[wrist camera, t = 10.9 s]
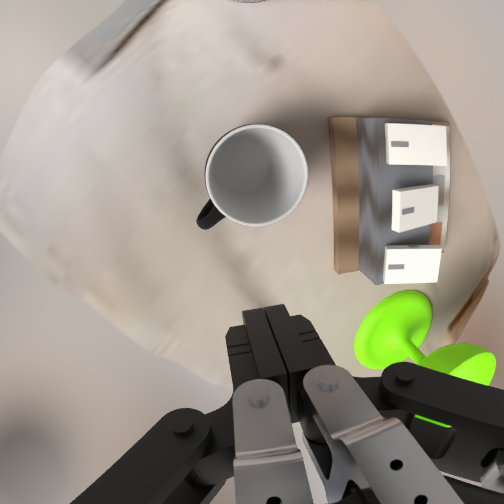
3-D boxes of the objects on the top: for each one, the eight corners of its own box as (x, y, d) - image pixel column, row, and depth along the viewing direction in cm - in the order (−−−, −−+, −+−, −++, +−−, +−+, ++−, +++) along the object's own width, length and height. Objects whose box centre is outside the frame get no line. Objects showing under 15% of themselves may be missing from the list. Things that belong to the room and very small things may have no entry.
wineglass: (422, 271, 45) (498, 329, 29) (436, 334, 51) (492, 391, 35) (341, 326, 46) (397, 409, 29) (367, 381, 52) (412, 452, 35)
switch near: (383, 123, 30) (387, 123, 28) (440, 126, 28) (446, 126, 27) (385, 162, 31) (389, 164, 30) (441, 164, 30) (447, 166, 29)
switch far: (384, 244, 35) (386, 249, 34) (437, 244, 33) (441, 248, 32) (382, 278, 37) (384, 284, 35) (433, 276, 35) (437, 282, 34)
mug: (241, 111, 33) (256, 101, 24) (296, 164, 36) (328, 174, 27) (170, 189, 35) (159, 208, 26) (227, 237, 38) (237, 271, 29)
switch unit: (328, 117, 35) (352, 115, 29) (442, 122, 37) (472, 124, 31) (334, 269, 42) (354, 291, 36) (438, 249, 44) (464, 264, 38)
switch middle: (390, 189, 31) (400, 191, 29) (429, 183, 33) (439, 186, 31) (389, 229, 32) (399, 232, 31) (427, 219, 34) (437, 222, 33)
